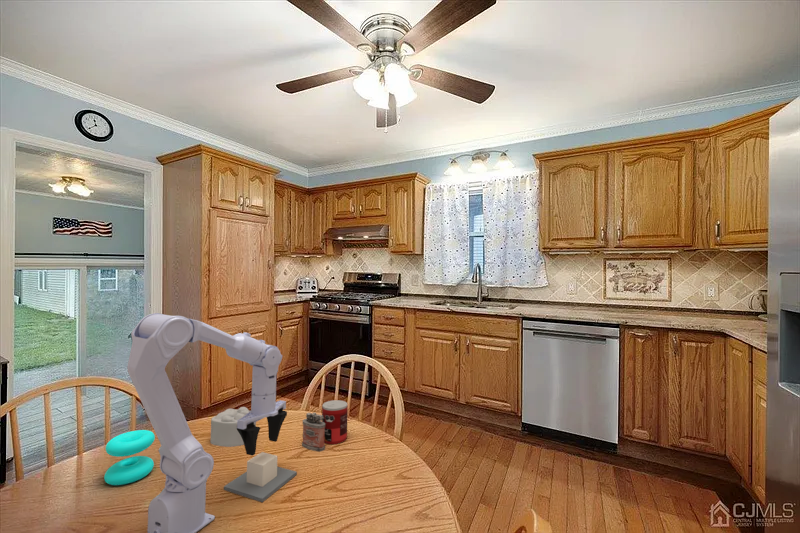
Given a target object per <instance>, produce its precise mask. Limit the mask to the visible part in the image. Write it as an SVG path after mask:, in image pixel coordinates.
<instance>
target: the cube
mask: <svg viewBox="0 0 800 533" xmlns="http://www.w3.org/2000/svg"><path fill="white" fill-rule="evenodd" d="M277 466H278V455H276V454H271V453H267V452H264V451H261V452H260V453H258V454H257V455H255V456H253V457H251V458H250V459H249V460H247V461H246V472H247V482H248V483H251V484H255V485H258V486H261V487H263V486H264V485H265V484H267V483H268V482H269V481H271V480H272V479H273V478H275V477H276V476H277Z"/></svg>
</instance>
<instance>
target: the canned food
mask: <svg viewBox="0 0 800 533" xmlns="http://www.w3.org/2000/svg"><path fill="white" fill-rule="evenodd" d="M348 411H349V410H348V402H346V401H345V400H338V399H334V400H333V399H332V400H329V401H325V402H323V403H322V406H321V415H322V416H323V420H322V422H324V423H325V434H324V444H327V445H337V444H338V443H339V444H341V442H342V443H343V442H345V441H346V440H347V436H348Z"/></svg>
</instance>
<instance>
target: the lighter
mask: <svg viewBox="0 0 800 533" xmlns="http://www.w3.org/2000/svg"><path fill="white" fill-rule="evenodd" d="M305 414H306V416H305V418H304V419H303V420H302V442H301V446H302V447H303V448H304V449H306V450H310V451H314V452H323V451H324V450H326V446H325V442H324V434H325V423H324V422H322V420H323V416H322V414H317V413H316V412H312V413H311V412H307V413H305Z"/></svg>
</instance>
